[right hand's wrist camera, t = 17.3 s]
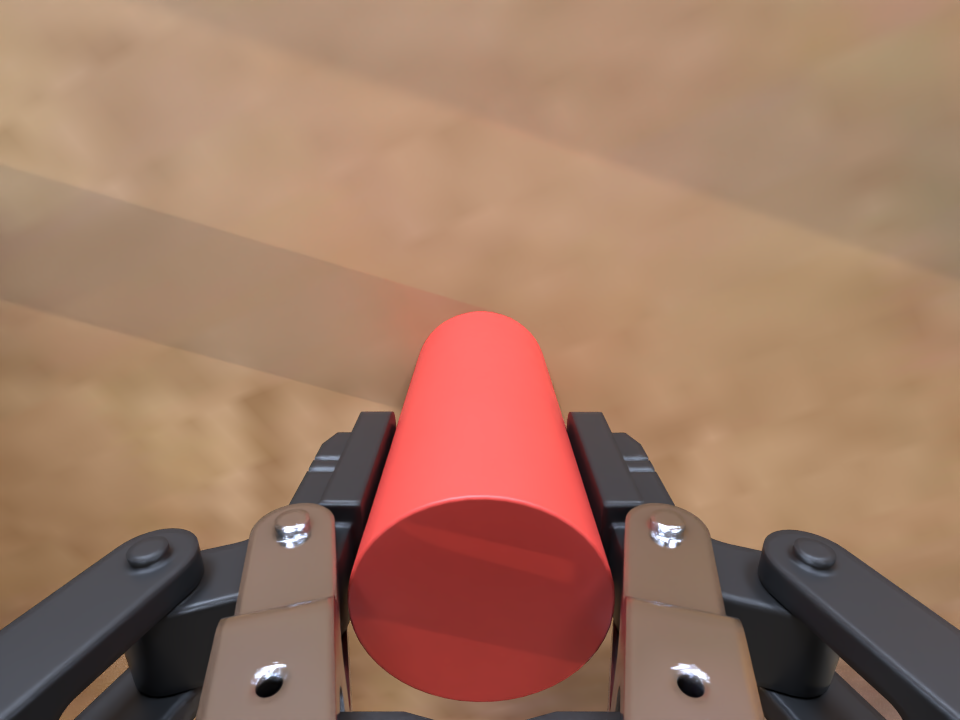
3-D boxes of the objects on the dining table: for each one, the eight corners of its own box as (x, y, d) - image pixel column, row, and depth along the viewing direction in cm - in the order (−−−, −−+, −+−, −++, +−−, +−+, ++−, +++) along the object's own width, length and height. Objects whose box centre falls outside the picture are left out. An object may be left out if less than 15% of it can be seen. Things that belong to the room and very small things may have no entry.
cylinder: (436, 294, 16) (381, 464, 7) (563, 332, 16) (660, 537, 7) (403, 410, 17) (322, 673, 8) (521, 443, 17) (560, 724, 9)
